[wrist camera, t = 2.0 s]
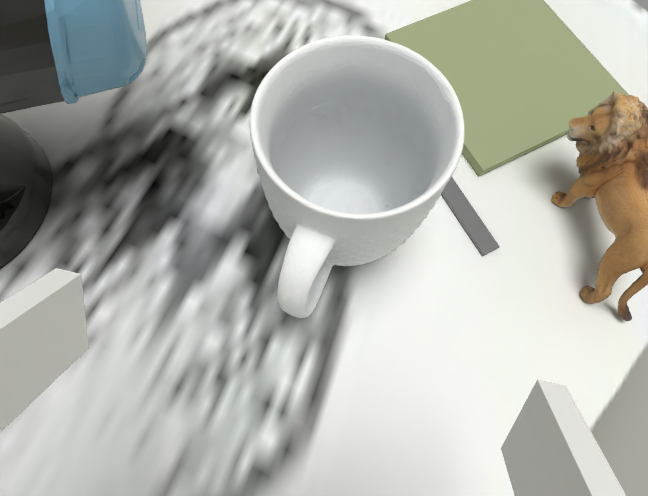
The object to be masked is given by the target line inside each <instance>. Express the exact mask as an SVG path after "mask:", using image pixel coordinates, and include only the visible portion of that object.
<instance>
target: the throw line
mask: <svg viewBox="0 0 648 496" xmlns="http://www.w3.org/2000/svg"><path fill="white" fill-rule="evenodd" d="M441 195H442V196H443V198H444V199H445V201H446V202H447V204H448V205H449V207H450V208H451V210H452V211H453V213H454V214H455V216H456V217H457V219H458V220H459V222H460V223H461V225H462V226H463V228H464V229H465V231H466V232H467V234H468V235H469V237H470V238H471V240H472V241H473V243H474V244H475V246H476V247H477V249H478V250H479V252H480V253H481V255H482V256H484V255H486V254H488V253H490V252H491V251H493V250H495V249H497V248H499V245H498V244H497V242H496V241H495V239H494V238H493V236H492V235H491V234H490V232H489V231H488V229H487V228H486V226H485V225H484V223H483V222H482V220H481V219H480V217H479V216H478V215H477V213H476V212H475V210H474V209H473V207H472V206H471V204H470V203H469V201H468V200H467V198H466V197H465V196H464V194H463V193H462V191H461V190H460V188H459V187H458V185H457V184H456V182H455V181H454V179H453V178H452V177H451V178H450V180H449V181H448V183H447V184H446V186H445V188H444V189H443V191H442V193H441Z"/></svg>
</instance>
